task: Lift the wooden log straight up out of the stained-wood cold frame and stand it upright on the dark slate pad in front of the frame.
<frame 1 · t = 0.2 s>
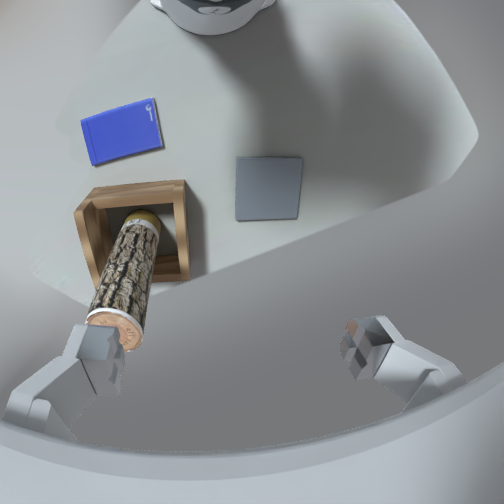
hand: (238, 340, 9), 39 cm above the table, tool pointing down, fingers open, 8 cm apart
slate pad: (267, 188, 49), on the table
wooden log: (143, 225, 48), resting in cold frame
cold frame: (143, 225, 48), on the table
hard drive: (122, 130, 39), on the table
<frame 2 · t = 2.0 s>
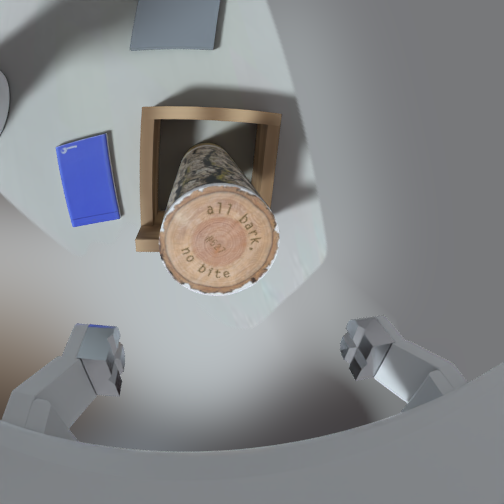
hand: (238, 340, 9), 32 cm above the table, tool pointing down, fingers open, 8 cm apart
slate pad: (176, 14, 27), on the table
wooden log: (205, 166, 38), resting in cold frame
cold frame: (205, 166, 38), on the table
hard drive: (89, 179, 36), on the table
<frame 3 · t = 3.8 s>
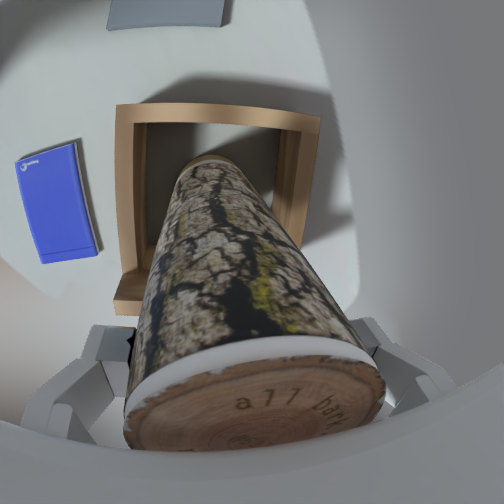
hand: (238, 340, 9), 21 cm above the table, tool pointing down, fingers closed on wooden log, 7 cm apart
wooden log: (210, 186, 28), resting in cold frame, touching gripper
cold frame: (210, 187, 28), on the table
hard drive: (58, 204, 26), on the table
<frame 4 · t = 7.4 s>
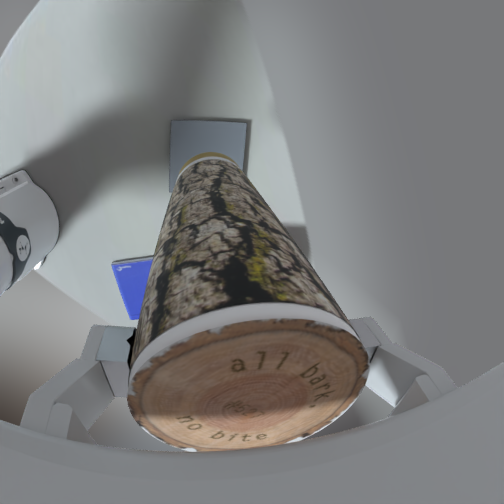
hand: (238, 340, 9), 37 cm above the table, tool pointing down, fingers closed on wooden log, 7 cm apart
slate pad: (206, 156, 41), on the table
wooden log: (209, 182, 29), point 15 cm above the table, touching gripper
hard drive: (142, 286, 50), on the table
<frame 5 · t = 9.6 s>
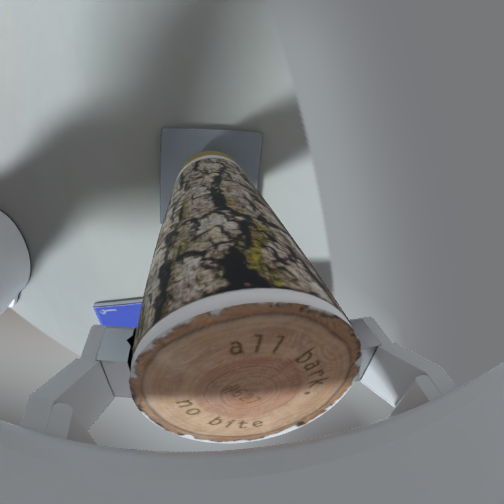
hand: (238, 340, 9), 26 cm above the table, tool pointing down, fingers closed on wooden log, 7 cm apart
slate pad: (208, 176, 32), on the table
wooden log: (209, 180, 29), point 3 cm above the table, touching gripper
hard drive: (131, 330, 41), on the table
when the fingers open (24 cm above the table, at t = 11.2 s): wooden log stays where it is, resting on slate pad.
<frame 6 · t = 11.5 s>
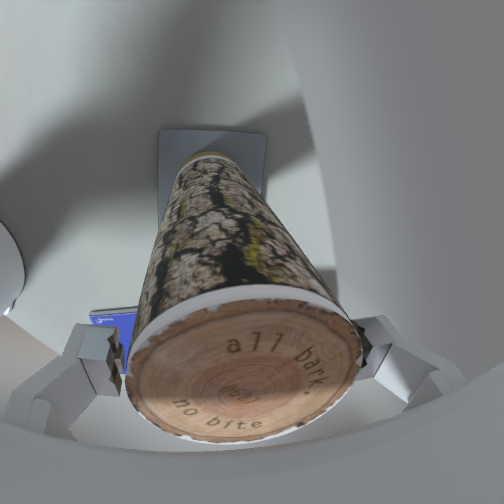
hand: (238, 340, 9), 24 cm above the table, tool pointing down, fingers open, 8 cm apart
slate pad: (209, 181, 30), on the table
wooden log: (208, 181, 29), point 1 cm above the table, touching slate pad
hard drive: (129, 338, 39), on the table
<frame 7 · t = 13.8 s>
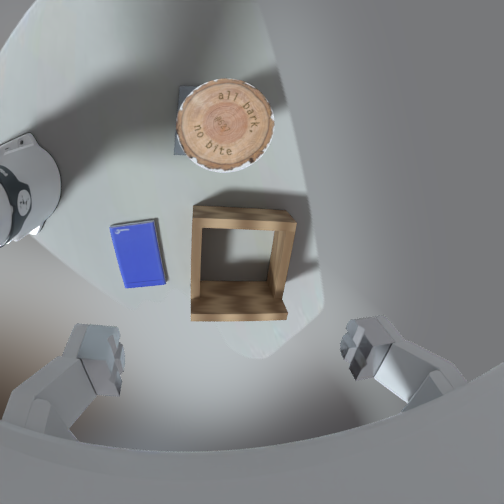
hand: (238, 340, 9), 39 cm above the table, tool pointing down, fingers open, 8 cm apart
slate pad: (212, 121, 41), on the table
wooden log: (211, 120, 40), point 1 cm above the table, touching slate pad
cold frame: (236, 250, 52), on the table
hard drive: (139, 253, 49), on the table
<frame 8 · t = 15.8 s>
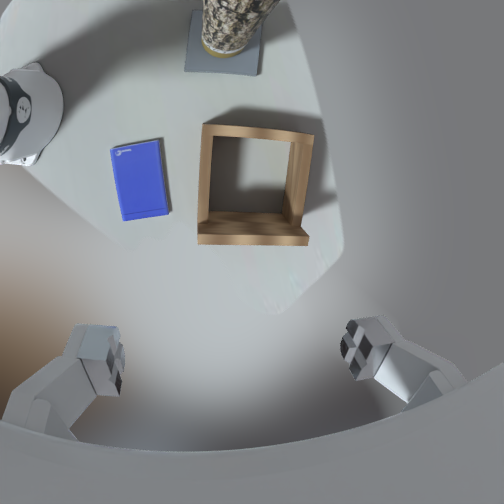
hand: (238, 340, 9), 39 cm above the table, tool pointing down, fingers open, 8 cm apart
slate pad: (223, 42, 35), on the table
wooden log: (223, 40, 34), point 1 cm above the table, touching slate pad
cold frame: (248, 174, 46), on the table
hard drive: (140, 179, 44), on the table
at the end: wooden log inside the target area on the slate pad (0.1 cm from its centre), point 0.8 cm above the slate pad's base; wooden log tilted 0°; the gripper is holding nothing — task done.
